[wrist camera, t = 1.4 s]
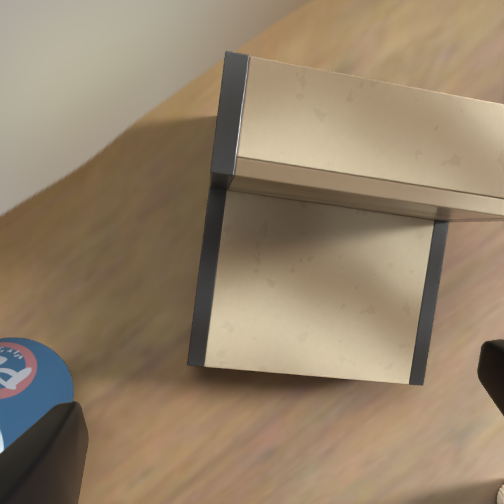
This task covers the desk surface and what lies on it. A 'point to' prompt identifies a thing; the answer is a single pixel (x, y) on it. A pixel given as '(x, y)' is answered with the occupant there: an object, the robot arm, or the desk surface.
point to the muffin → (500, 495)
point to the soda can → (29, 385)
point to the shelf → (335, 219)
